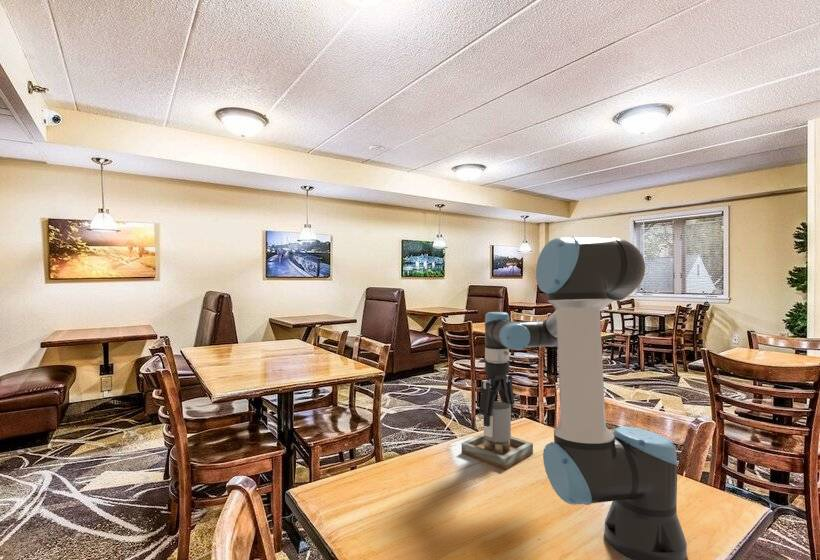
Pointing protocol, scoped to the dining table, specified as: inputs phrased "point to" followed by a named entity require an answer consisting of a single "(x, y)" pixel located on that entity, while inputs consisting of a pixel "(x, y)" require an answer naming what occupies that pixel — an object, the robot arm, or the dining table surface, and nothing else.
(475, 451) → the grey square tray
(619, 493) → the robot arm
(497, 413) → the cup
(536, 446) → the dining table surface
